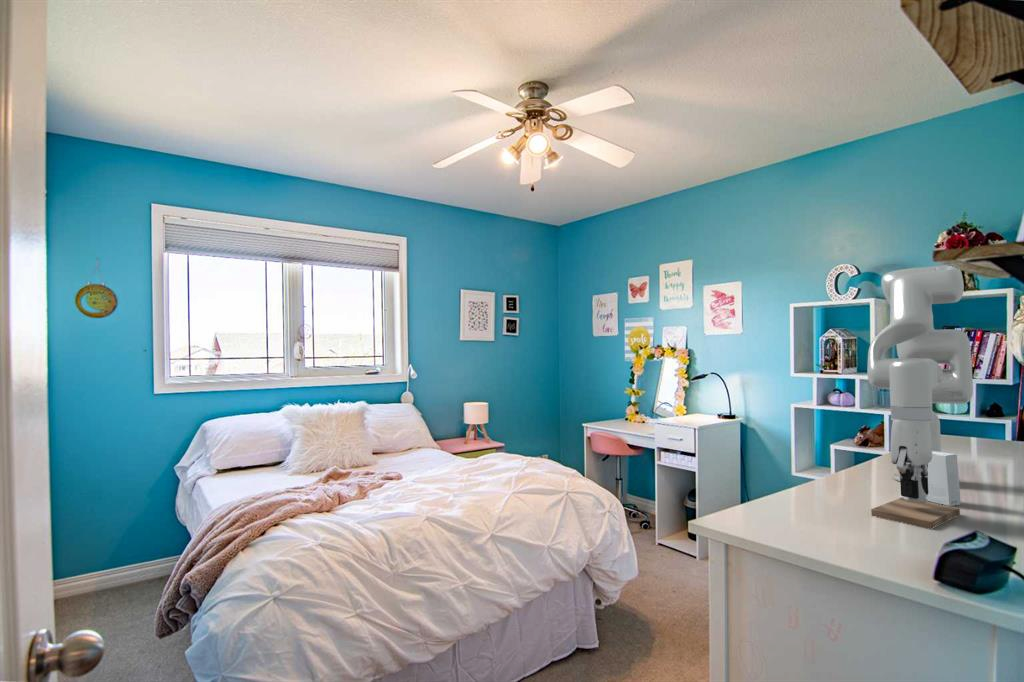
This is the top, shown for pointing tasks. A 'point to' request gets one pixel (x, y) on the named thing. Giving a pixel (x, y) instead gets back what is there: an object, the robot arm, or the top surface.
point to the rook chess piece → (921, 492)
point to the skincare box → (943, 479)
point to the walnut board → (915, 512)
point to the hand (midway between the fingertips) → (914, 494)
